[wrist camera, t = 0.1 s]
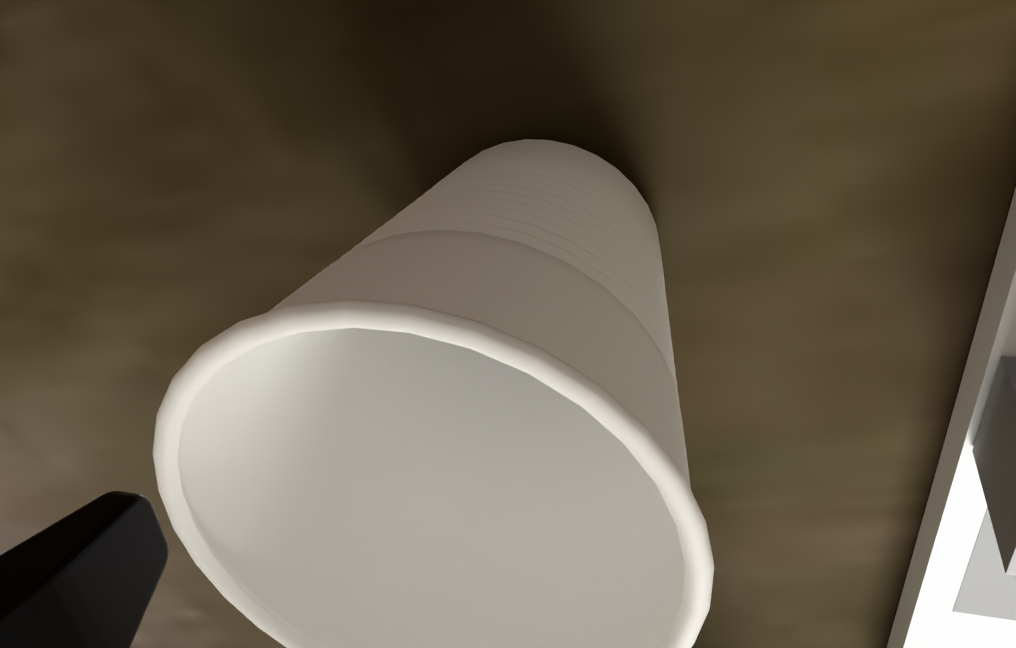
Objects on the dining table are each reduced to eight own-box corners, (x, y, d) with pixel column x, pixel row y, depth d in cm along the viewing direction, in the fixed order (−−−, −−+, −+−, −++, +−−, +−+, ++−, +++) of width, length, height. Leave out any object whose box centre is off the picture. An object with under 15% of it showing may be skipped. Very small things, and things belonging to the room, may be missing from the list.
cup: (314, 115, 23) (39, 361, 15) (682, 4, 19) (610, 248, 11) (452, 403, 28) (307, 720, 19) (770, 359, 24) (771, 730, 15)
